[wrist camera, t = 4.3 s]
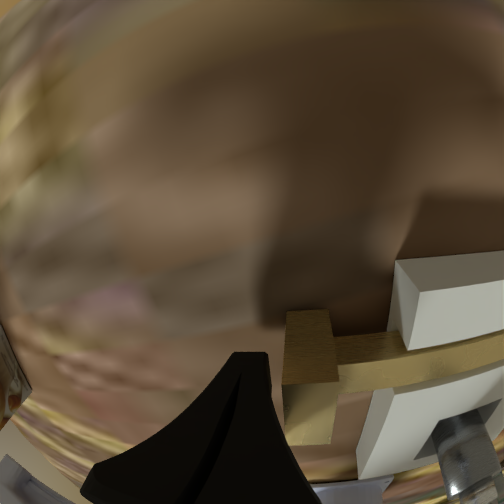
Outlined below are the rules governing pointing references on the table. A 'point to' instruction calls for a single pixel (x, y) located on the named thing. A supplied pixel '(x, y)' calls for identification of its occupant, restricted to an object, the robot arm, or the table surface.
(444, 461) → the stepped metal cylinder
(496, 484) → the spray can
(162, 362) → the table surface
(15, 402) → the coffee box
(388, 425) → the socket block
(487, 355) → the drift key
